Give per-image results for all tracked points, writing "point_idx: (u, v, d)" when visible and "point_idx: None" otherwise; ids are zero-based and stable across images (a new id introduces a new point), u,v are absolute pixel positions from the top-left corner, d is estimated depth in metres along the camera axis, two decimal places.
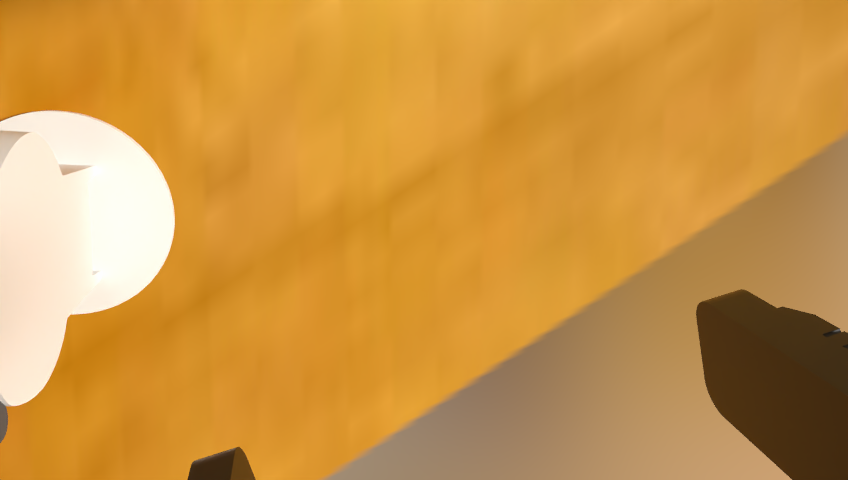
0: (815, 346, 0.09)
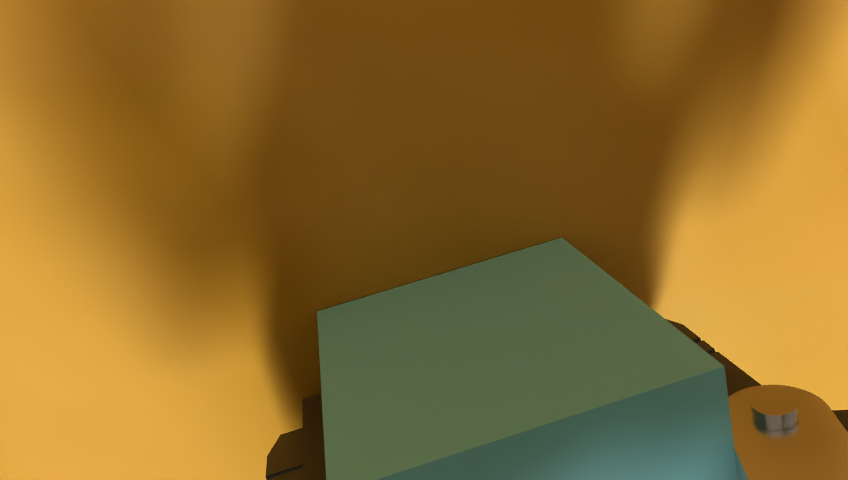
0: None
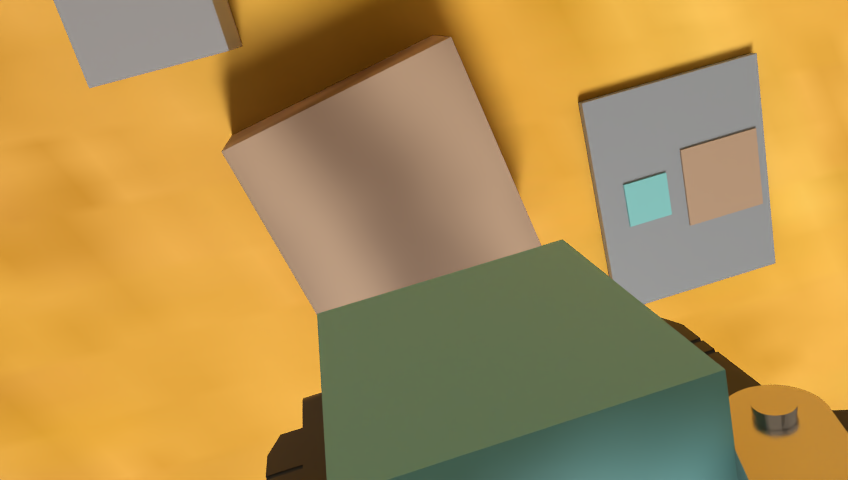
0: None
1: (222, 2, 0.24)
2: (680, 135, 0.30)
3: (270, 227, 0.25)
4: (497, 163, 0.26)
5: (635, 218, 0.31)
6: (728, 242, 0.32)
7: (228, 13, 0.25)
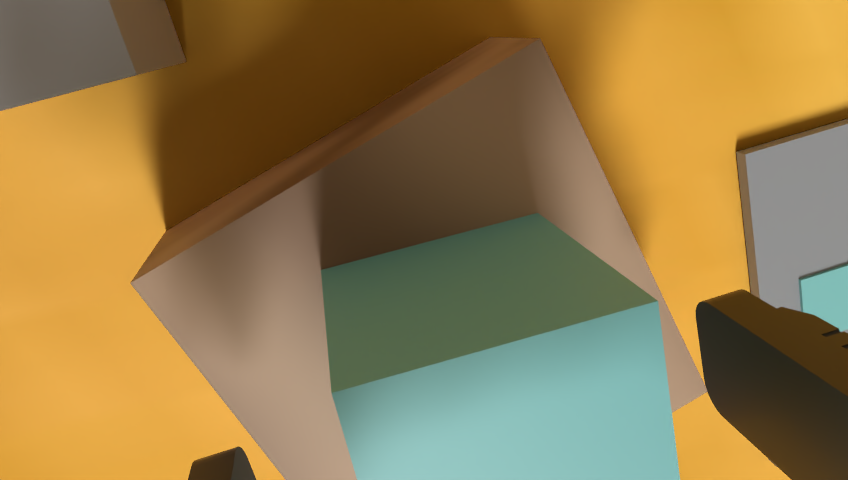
0: (814, 346, 0.09)
1: None
2: None
3: (234, 403, 0.14)
4: (628, 255, 0.15)
5: None
6: None
7: (155, 3, 0.14)
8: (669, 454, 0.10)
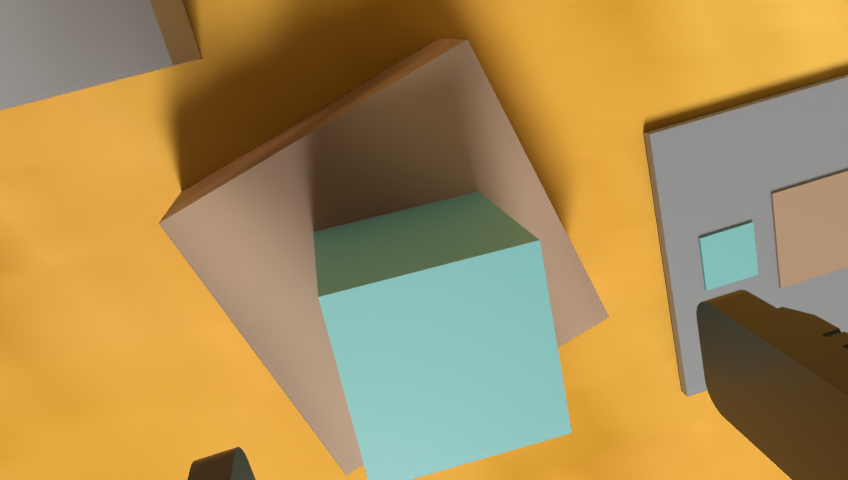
0: (815, 346, 0.09)
1: None
2: (772, 174, 0.24)
3: (237, 319, 0.18)
4: (541, 206, 0.19)
5: (712, 280, 0.24)
6: (826, 308, 0.25)
7: (180, 13, 0.18)
8: (552, 349, 0.14)
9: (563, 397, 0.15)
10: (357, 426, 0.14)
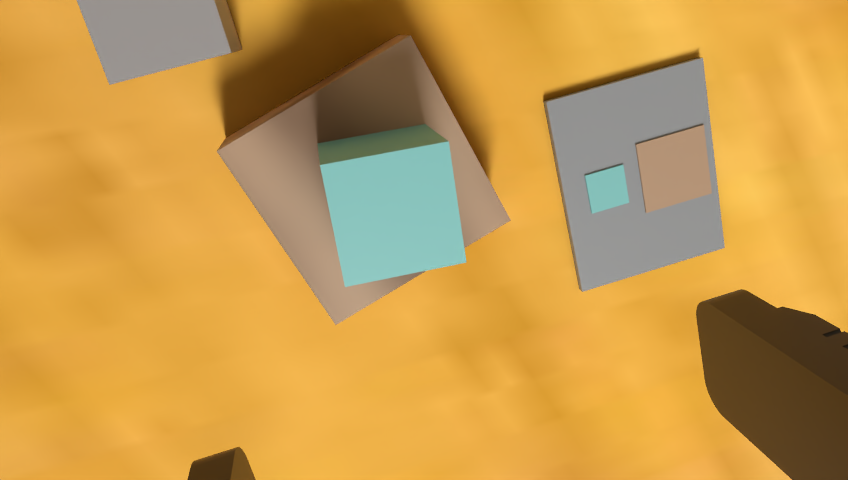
0: (815, 346, 0.09)
1: (225, 10, 0.28)
2: (635, 131, 0.34)
3: (264, 215, 0.29)
4: (461, 144, 0.29)
5: (595, 206, 0.35)
6: (681, 228, 0.36)
7: (230, 20, 0.29)
8: (455, 208, 0.25)
9: (461, 239, 0.25)
10: (338, 245, 0.24)
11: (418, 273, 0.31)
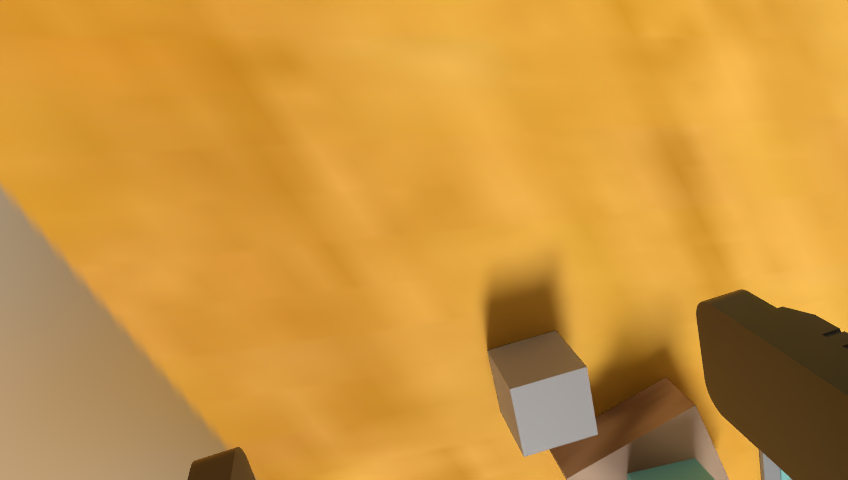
0: (815, 346, 0.09)
1: None
2: None
3: None
4: (717, 465, 0.44)
5: (784, 476, 0.49)
6: None
7: None
8: None
9: None
10: None
11: None
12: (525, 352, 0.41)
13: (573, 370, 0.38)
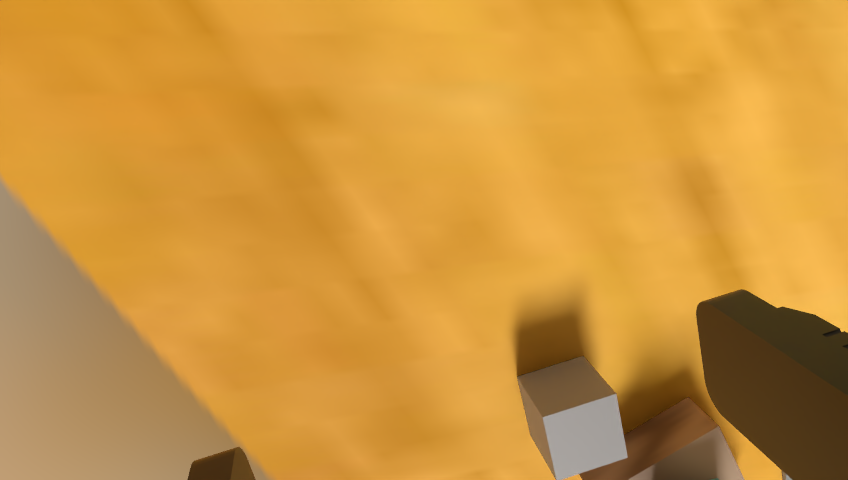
0: (815, 346, 0.09)
1: None
2: None
3: None
4: None
5: None
6: None
7: None
8: None
9: None
10: None
11: None
12: (555, 379, 0.43)
13: (603, 397, 0.40)
